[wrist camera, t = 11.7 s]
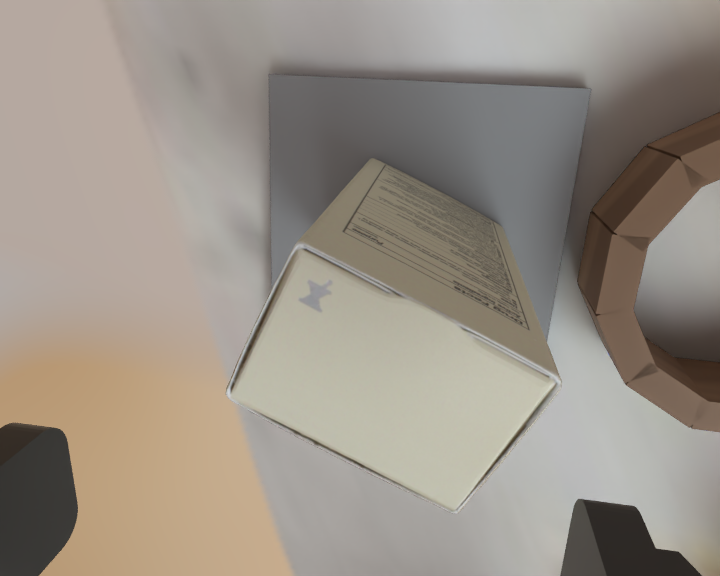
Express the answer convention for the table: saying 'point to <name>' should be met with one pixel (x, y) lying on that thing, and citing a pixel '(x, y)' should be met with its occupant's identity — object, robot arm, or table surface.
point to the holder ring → (625, 264)
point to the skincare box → (401, 340)
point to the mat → (432, 156)
